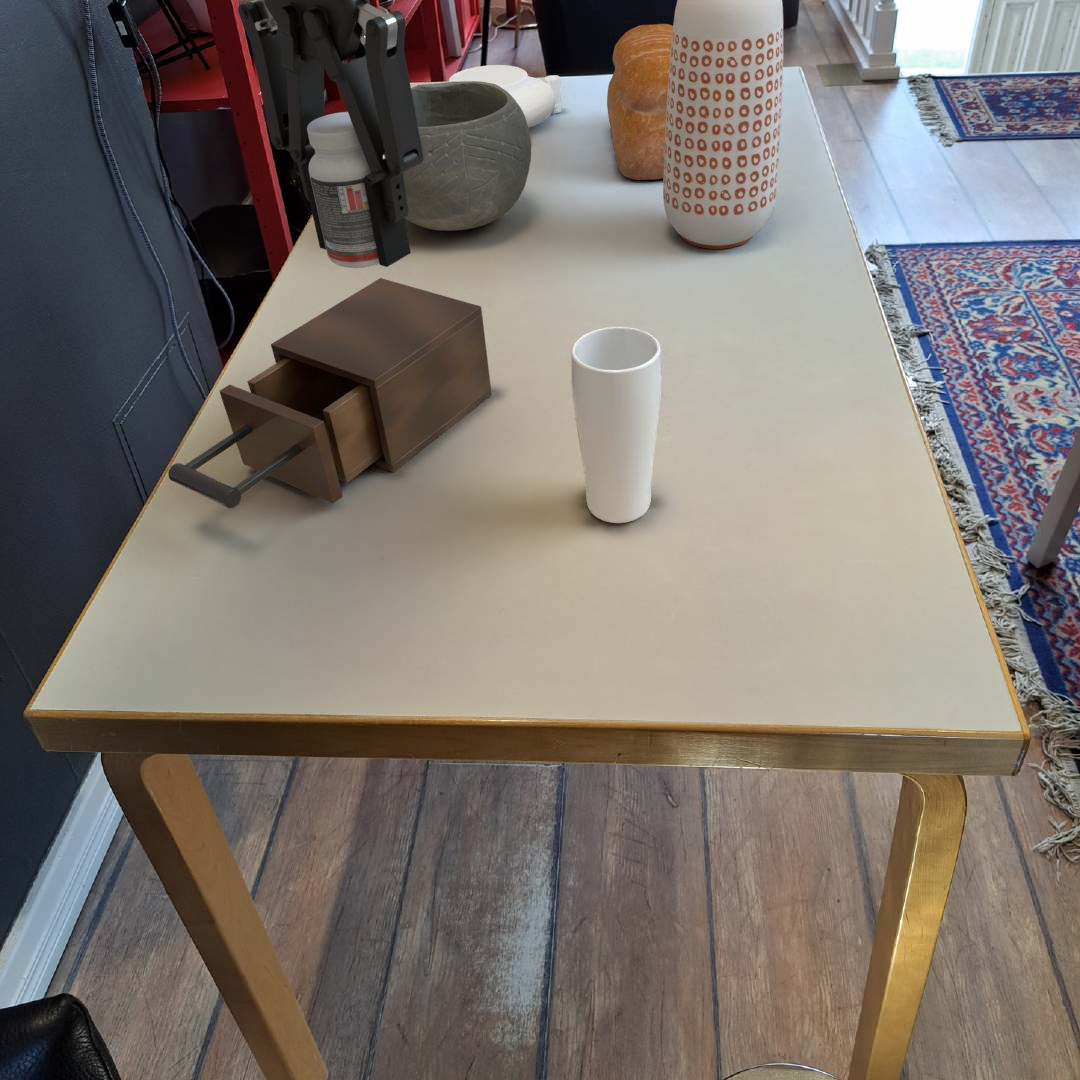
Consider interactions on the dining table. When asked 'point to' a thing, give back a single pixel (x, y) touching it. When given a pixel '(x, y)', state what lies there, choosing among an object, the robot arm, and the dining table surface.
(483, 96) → the bowl
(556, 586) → the dining table surface
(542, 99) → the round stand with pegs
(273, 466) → the drawer
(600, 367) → the drinking glass
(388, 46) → the robot arm
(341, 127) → the pill bottle
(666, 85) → the bread
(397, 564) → the dining table surface
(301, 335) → the cabinet
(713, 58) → the white patterned vase
